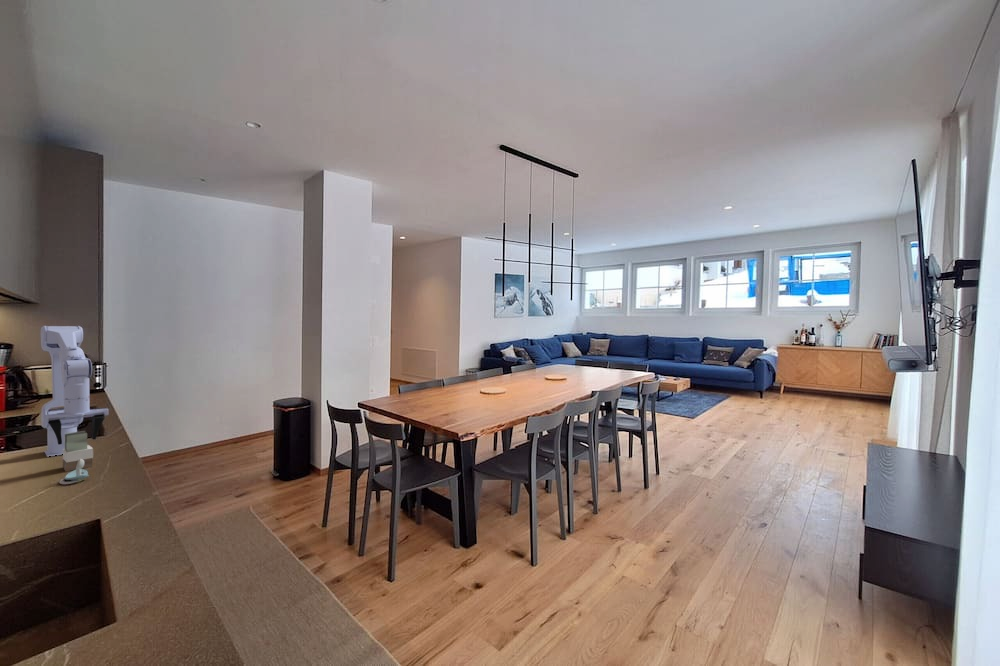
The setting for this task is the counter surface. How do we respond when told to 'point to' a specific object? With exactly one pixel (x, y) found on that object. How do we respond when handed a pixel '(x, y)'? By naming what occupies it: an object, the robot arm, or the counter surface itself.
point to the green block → (75, 441)
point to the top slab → (78, 454)
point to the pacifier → (76, 474)
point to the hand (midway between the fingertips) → (77, 441)
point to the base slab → (72, 465)
